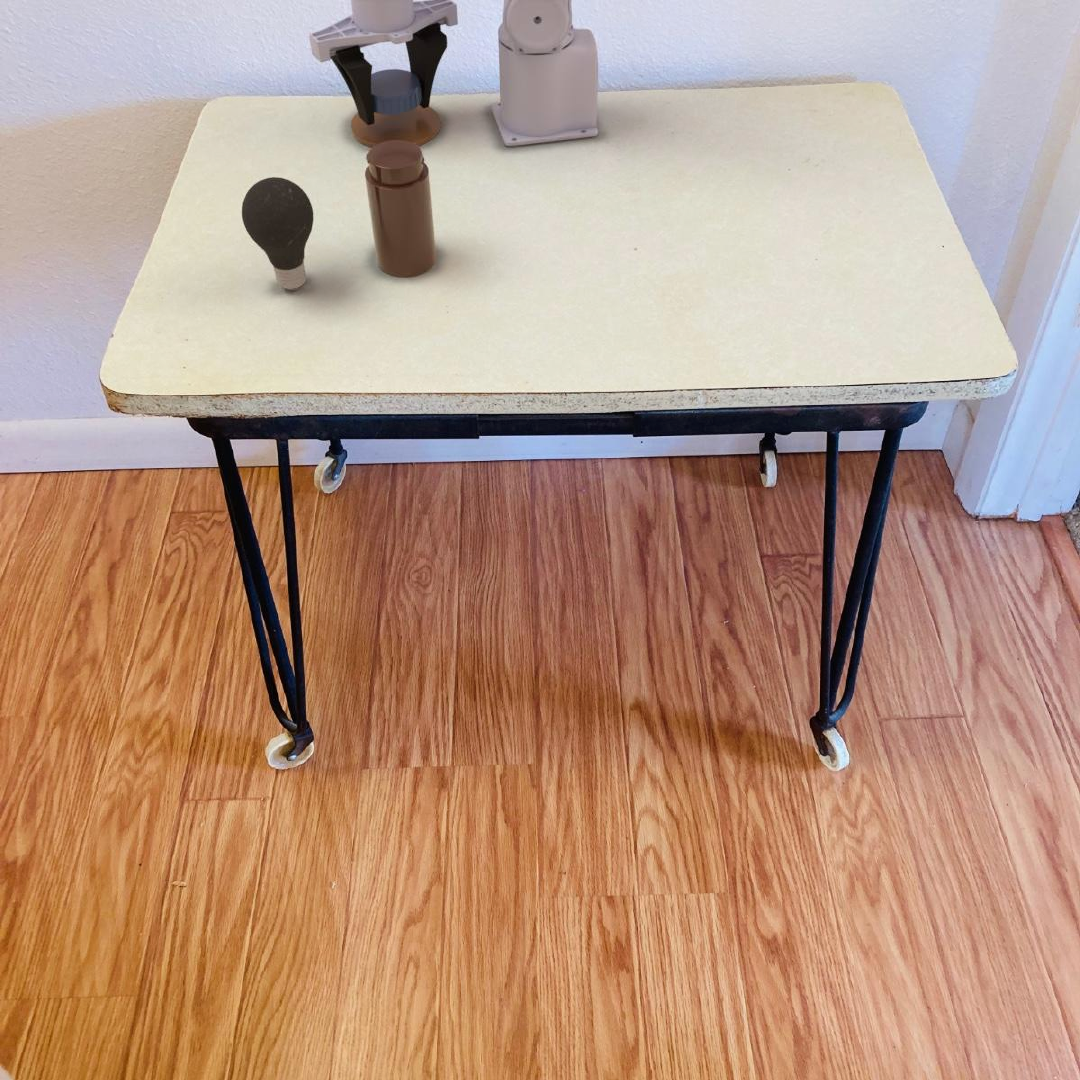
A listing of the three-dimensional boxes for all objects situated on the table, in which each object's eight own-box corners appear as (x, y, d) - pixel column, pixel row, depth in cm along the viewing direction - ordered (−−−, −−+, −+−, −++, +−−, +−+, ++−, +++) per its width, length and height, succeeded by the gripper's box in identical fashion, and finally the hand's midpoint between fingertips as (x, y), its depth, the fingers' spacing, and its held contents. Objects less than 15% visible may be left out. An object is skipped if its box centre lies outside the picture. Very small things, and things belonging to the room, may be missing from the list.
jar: (429, 238, 97) (419, 133, 90) (442, 271, 94) (433, 165, 86) (372, 247, 96) (357, 142, 89) (382, 281, 93) (368, 175, 86)
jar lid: (362, 89, 109) (360, 71, 108) (419, 84, 110) (417, 66, 108) (366, 117, 106) (363, 99, 104) (424, 112, 106) (422, 94, 105)
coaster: (433, 100, 113) (433, 95, 113) (447, 144, 108) (446, 140, 107) (347, 109, 112) (346, 105, 112) (356, 155, 106) (355, 150, 106)
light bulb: (333, 269, 94) (314, 164, 87) (318, 309, 91) (297, 204, 83) (269, 265, 95) (245, 161, 87) (252, 305, 91) (225, 200, 83)
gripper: (324, 5, 94) (346, 150, 104) (470, -33, 99) (477, 109, 109) (290, -25, 97) (315, 118, 108) (433, -60, 102) (443, 80, 113)
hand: (394, 111), depth 109 cm, fingers closed on jar lid, 5 cm apart
